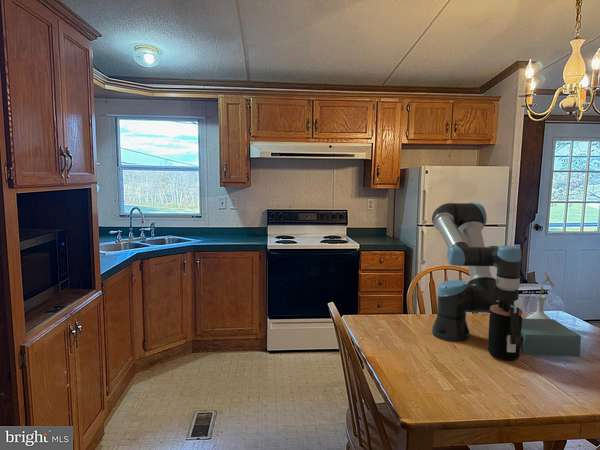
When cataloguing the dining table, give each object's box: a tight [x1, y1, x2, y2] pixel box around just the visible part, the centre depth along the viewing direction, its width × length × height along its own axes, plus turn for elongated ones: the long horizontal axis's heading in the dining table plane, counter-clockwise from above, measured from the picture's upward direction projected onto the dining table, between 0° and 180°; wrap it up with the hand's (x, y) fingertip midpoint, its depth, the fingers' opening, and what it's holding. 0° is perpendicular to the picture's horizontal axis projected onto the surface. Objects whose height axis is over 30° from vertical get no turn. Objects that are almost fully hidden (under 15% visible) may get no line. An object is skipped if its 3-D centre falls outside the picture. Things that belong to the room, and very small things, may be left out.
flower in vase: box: [525, 271, 555, 319], centre depth 175 cm, size 13×11×25 cm
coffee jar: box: [487, 305, 524, 362], centre depth 142 cm, size 11×11×18 cm
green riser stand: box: [521, 317, 582, 357], centre depth 153 cm, size 20×18×8 cm
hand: (503, 345), depth 143 cm, fingers closed on coffee jar, 11 cm apart
